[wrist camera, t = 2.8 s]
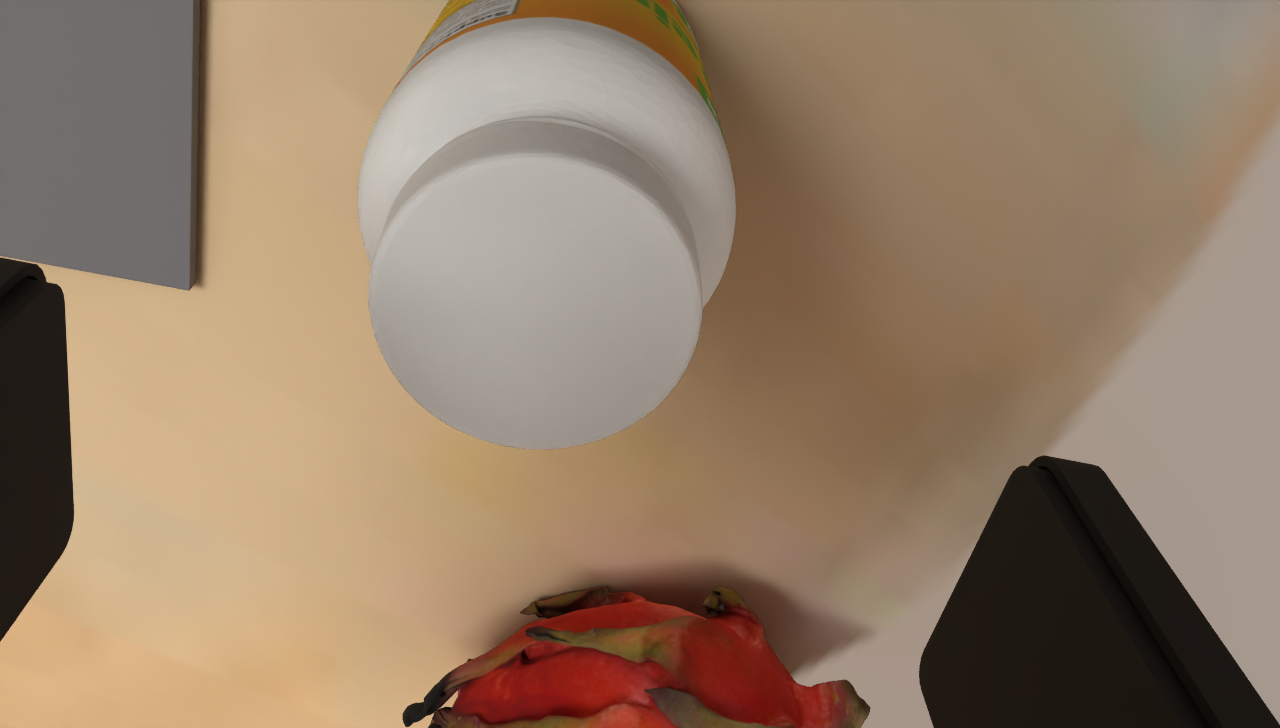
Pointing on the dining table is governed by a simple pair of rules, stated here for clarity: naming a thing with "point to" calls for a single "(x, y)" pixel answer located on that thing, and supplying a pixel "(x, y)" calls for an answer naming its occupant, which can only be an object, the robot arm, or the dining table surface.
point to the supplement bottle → (546, 216)
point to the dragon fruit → (636, 672)
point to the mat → (101, 136)
